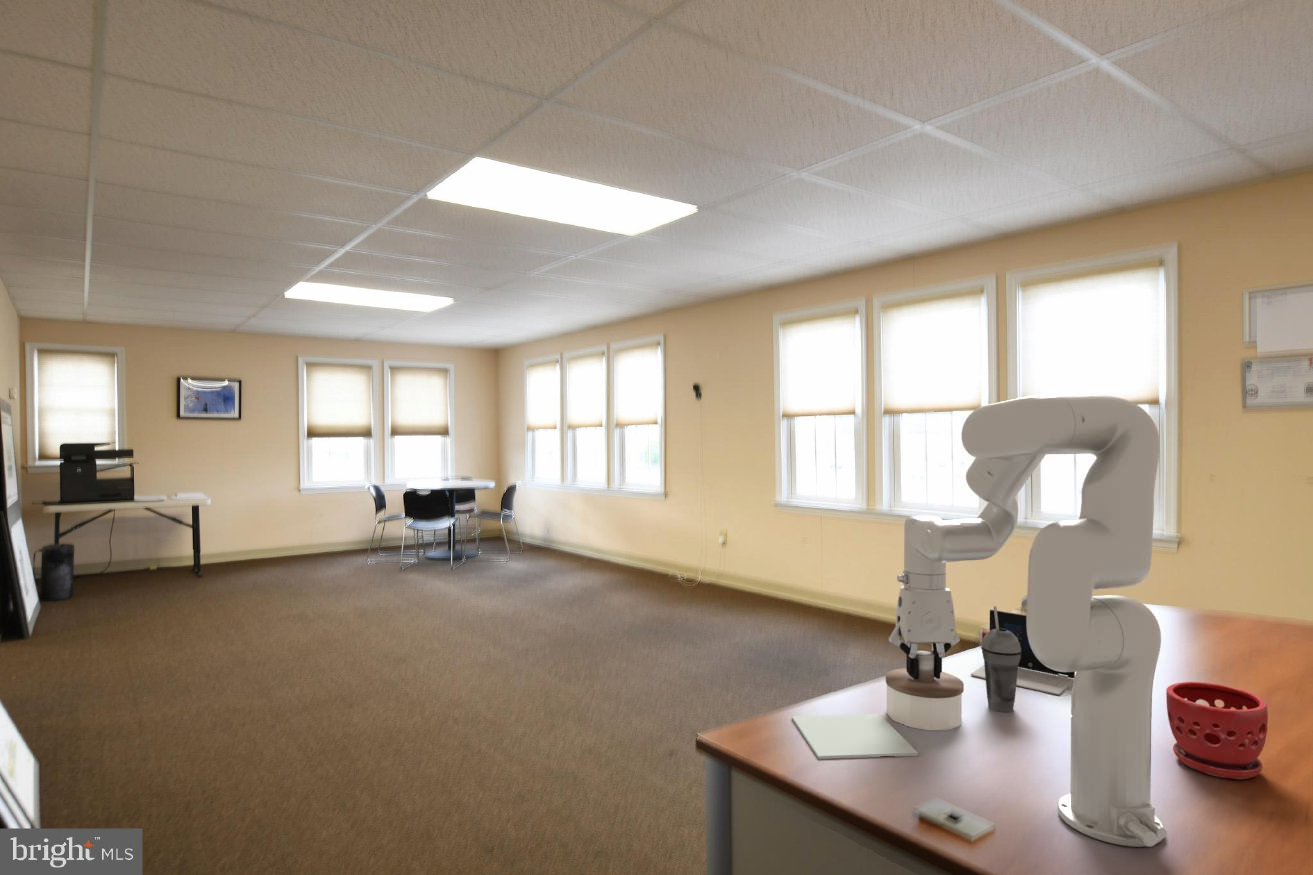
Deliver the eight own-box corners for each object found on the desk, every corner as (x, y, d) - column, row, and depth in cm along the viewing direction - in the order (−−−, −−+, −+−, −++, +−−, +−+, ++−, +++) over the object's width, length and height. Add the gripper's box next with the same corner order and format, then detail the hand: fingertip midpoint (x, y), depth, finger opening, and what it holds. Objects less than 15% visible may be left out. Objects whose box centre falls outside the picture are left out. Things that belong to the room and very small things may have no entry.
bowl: (974, 729, 135) (974, 696, 135) (904, 731, 134) (904, 698, 134) (941, 702, 148) (941, 672, 148) (877, 704, 147) (877, 674, 147)
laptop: (969, 677, 164) (970, 618, 164) (989, 664, 173) (989, 609, 173) (1059, 697, 152) (1060, 634, 152) (1075, 682, 161) (1075, 622, 161)
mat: (917, 755, 124) (917, 752, 124) (818, 758, 123) (818, 755, 123) (879, 716, 141) (879, 713, 141) (792, 718, 140) (792, 716, 140)
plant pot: (1169, 743, 129) (1170, 674, 129) (1266, 764, 121) (1267, 692, 121) (1161, 769, 119) (1162, 695, 119) (1267, 795, 111) (1268, 715, 111)
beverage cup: (1026, 716, 141) (1026, 612, 141) (985, 713, 143) (986, 610, 142) (1015, 702, 148) (1016, 603, 148) (976, 699, 150) (977, 601, 149)
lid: (978, 697, 135) (978, 664, 134) (903, 699, 133) (903, 666, 133) (942, 671, 149) (942, 642, 148) (874, 673, 147) (874, 643, 147)
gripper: (890, 585, 136) (889, 684, 137) (976, 584, 138) (975, 682, 138) (875, 577, 144) (874, 671, 144) (957, 576, 145) (956, 669, 145)
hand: (924, 675), depth 141 cm, fingers closed on lid, 3 cm apart
